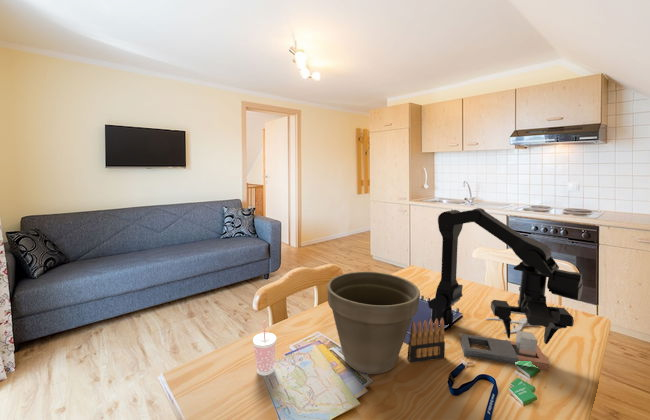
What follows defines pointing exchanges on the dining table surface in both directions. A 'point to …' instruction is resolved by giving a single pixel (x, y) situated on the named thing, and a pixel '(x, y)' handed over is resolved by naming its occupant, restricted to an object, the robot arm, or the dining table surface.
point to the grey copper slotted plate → (499, 351)
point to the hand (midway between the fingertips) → (526, 340)
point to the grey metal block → (525, 344)
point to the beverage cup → (264, 352)
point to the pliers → (521, 324)
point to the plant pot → (372, 317)
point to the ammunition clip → (426, 342)
